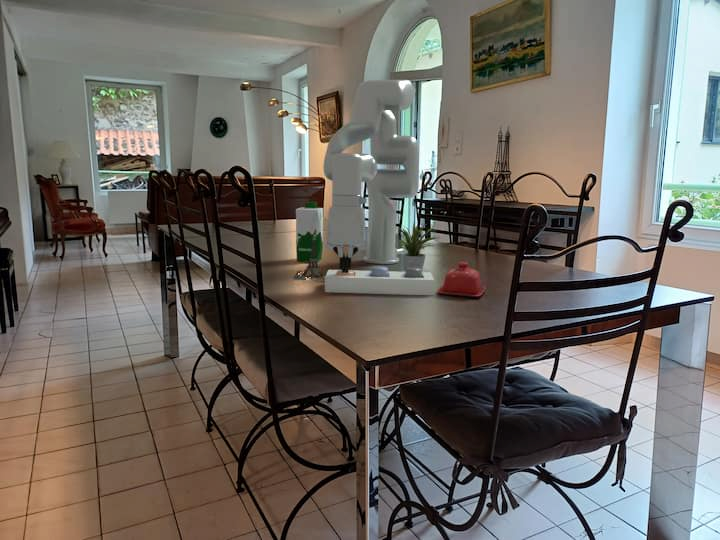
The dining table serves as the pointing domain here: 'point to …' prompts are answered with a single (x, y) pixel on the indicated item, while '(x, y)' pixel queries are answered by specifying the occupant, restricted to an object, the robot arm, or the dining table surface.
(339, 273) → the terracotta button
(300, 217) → the milk carton
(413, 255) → the house plant
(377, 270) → the slate blue button
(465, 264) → the butter dish
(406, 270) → the charcoal button
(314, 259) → the eiffel tower figurine
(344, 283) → the white button panel
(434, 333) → the dining table surface
